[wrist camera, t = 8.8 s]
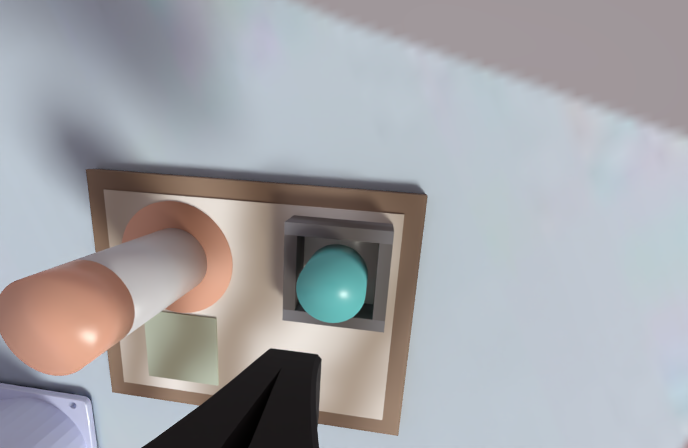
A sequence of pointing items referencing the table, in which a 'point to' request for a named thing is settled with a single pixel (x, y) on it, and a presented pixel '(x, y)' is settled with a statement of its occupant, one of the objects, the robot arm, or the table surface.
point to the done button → (333, 284)
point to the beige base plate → (267, 287)
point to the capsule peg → (97, 299)
